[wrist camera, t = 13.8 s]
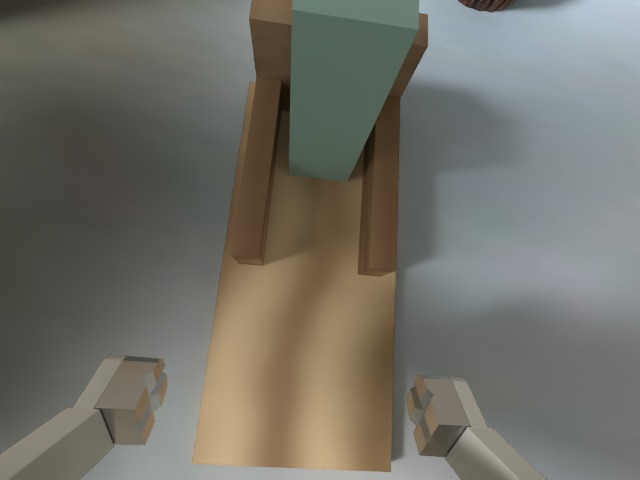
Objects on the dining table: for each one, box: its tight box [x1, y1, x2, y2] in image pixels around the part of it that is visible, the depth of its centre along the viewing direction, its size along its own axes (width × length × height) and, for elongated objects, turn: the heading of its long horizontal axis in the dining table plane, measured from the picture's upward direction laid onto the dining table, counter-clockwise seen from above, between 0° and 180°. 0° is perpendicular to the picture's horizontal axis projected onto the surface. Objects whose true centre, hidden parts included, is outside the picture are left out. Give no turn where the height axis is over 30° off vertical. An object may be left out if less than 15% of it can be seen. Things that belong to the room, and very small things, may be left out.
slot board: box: [192, 0, 428, 472], centre depth 17 cm, size 11×24×8 cm, turn 175°
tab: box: [289, 0, 419, 181], centre depth 16 cm, size 4×4×12 cm
